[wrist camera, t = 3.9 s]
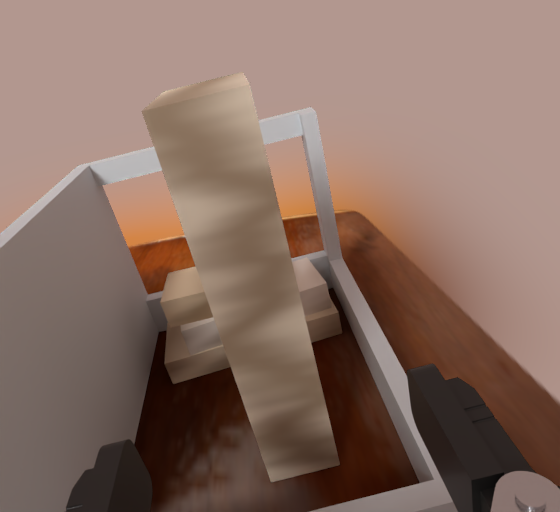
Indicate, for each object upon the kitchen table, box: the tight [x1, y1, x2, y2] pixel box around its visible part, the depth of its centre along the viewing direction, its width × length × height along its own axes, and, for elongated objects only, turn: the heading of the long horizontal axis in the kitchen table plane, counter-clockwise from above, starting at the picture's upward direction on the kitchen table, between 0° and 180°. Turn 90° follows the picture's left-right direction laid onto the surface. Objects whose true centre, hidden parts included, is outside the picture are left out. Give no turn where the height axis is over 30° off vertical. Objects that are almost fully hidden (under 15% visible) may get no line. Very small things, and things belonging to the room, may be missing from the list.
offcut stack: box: [160, 257, 342, 384], centre depth 32 cm, size 12×5×6 cm, turn 101°
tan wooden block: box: [142, 72, 340, 482], centre depth 21 cm, size 4×6×18 cm, turn 7°
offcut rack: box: [0, 107, 458, 512], centre depth 24 cm, size 16×22×14 cm
